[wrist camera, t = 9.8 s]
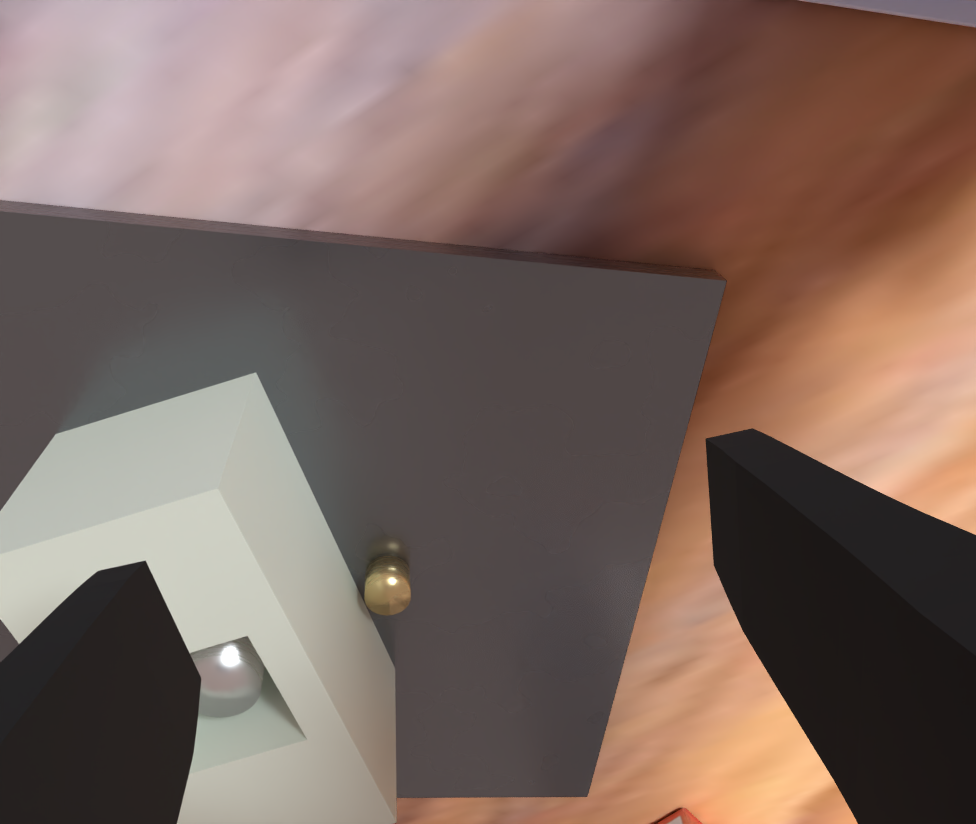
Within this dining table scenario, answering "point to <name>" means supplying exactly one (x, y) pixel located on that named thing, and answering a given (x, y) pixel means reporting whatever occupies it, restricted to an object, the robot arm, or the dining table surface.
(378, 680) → the block with square hole
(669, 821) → the cracker box
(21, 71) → the dining table surface
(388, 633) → the stand
